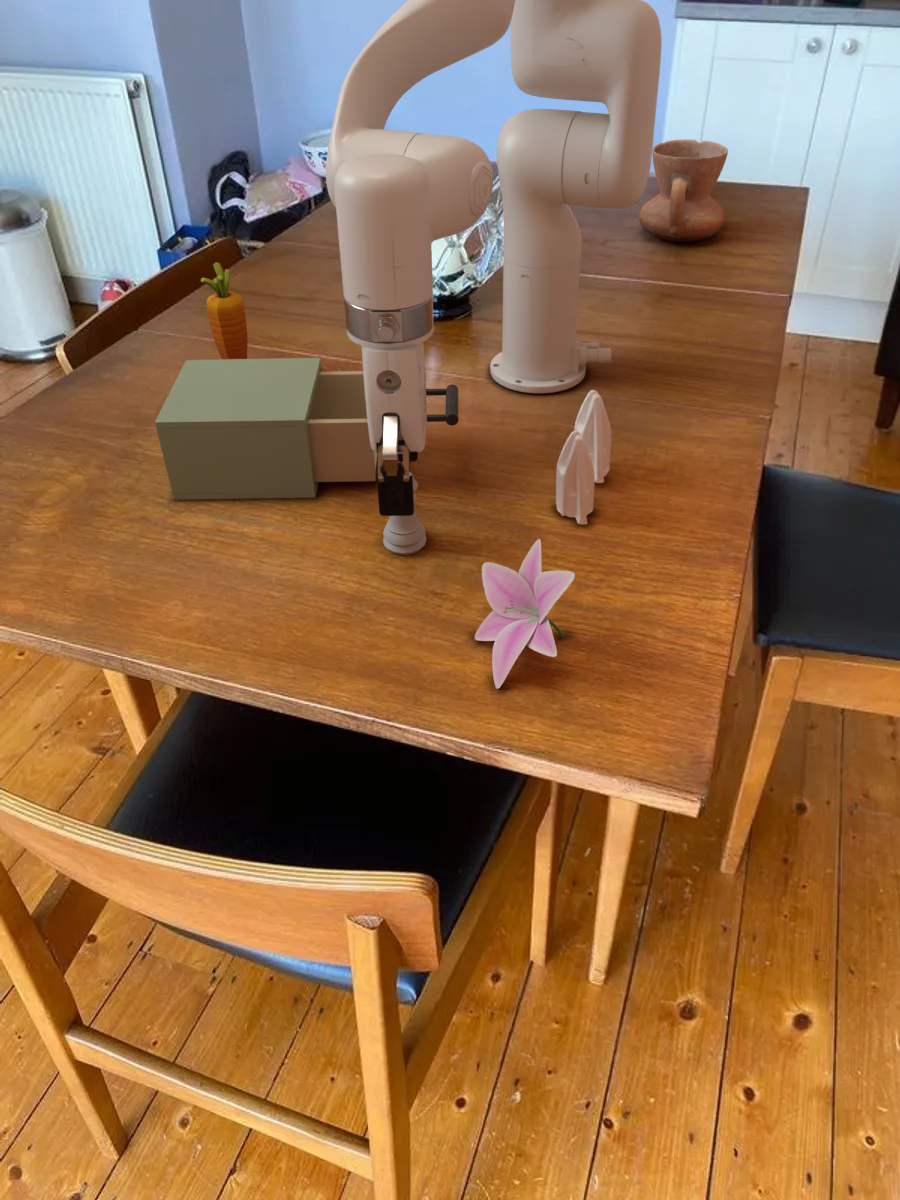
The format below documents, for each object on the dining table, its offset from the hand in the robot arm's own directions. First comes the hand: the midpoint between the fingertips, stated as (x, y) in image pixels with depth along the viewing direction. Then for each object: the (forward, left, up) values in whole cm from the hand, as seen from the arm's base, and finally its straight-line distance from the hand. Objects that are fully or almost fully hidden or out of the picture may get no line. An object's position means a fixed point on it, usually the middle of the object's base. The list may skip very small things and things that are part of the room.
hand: (399, 486), depth 91 cm
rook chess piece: (0, 0, -7) cm, 7 cm away
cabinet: (+18, -16, -7) cm, 25 cm away
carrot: (+24, -38, -7) cm, 46 cm away
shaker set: (-19, -9, -7) cm, 23 cm away
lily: (-11, +16, -7) cm, 21 cm away
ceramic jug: (-44, -90, -7) cm, 101 cm away
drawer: (+5, -16, -6) cm, 18 cm away
